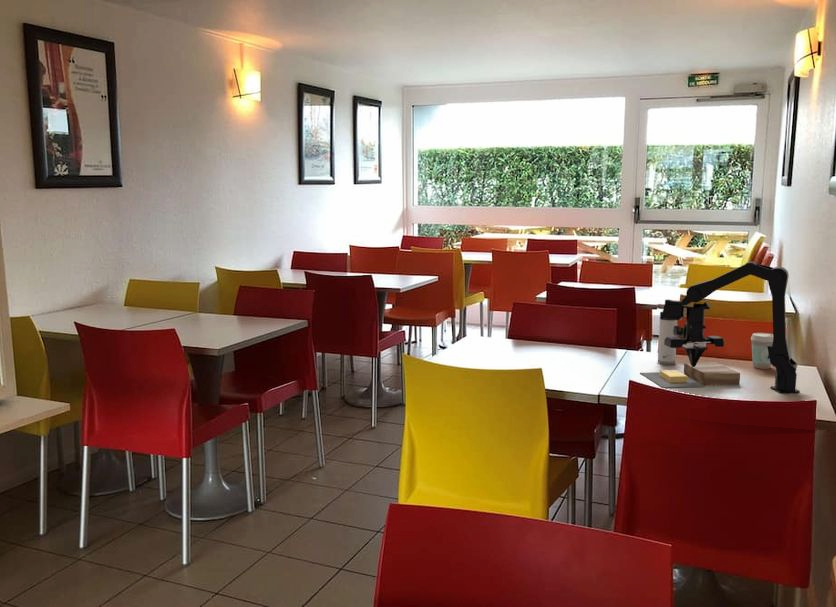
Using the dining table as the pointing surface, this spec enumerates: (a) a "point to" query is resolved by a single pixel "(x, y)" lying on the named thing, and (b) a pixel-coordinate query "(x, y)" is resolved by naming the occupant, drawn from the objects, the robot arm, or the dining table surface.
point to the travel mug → (665, 330)
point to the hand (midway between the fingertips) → (693, 366)
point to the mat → (665, 384)
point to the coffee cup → (761, 350)
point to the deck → (712, 374)
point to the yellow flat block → (673, 376)
